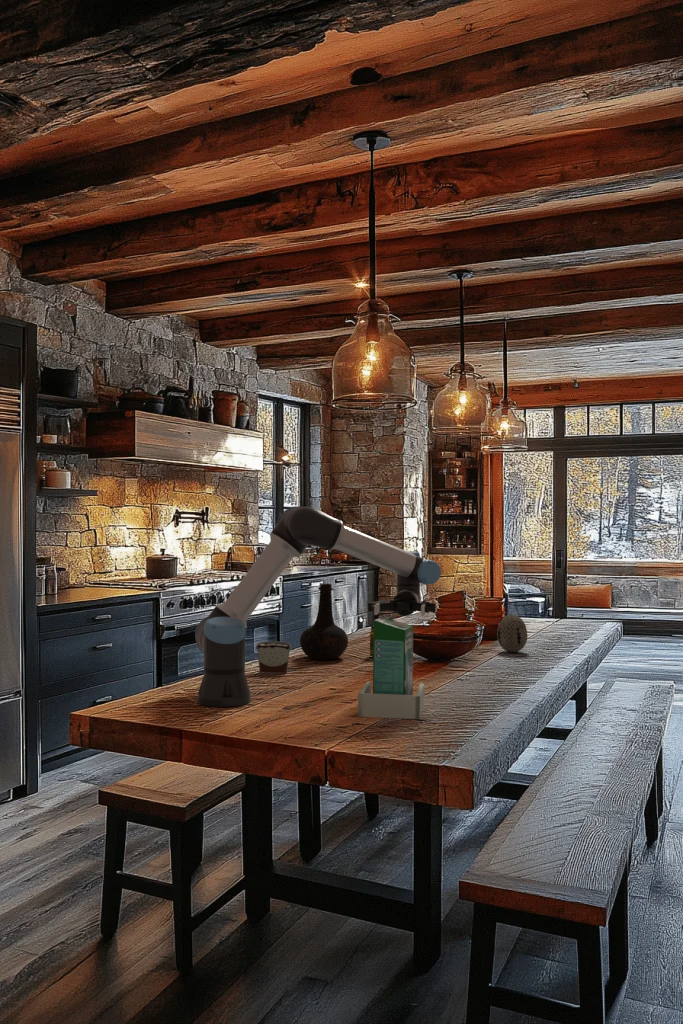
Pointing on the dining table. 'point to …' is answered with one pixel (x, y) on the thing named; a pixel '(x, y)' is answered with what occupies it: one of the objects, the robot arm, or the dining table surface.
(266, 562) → the robot arm
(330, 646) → the glass bottle
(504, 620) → the decorative egg
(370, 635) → the condiment
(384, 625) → the milk carton
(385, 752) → the dining table surface
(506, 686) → the dining table surface
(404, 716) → the box
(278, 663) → the food container
